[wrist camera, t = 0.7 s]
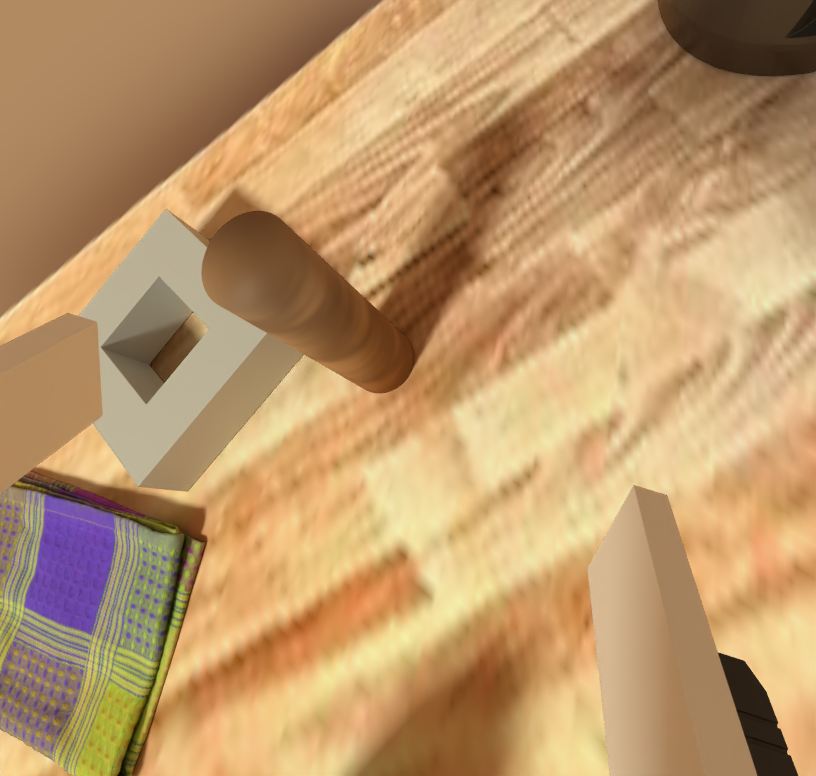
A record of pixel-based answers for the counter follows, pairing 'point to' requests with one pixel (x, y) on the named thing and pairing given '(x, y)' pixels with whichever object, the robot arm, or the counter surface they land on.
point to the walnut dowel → (303, 301)
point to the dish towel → (86, 622)
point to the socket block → (193, 379)
